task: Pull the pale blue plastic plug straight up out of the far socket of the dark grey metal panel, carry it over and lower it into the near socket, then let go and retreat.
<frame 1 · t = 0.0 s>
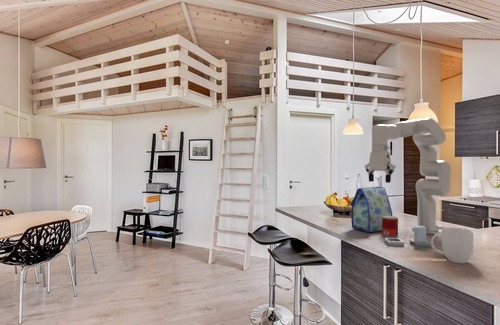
hand: (379, 182, 154), 31 cm above the countertop, tool pointing down, fingers open, 9 cm apart
lunch bag: (371, 229, 184), on the countertop
canned food: (389, 236, 167), on the countertop
plug: (420, 245, 146), point 1 cm above the countertop, touching panel
mug: (453, 260, 126), on the countertop
panel: (407, 246, 147), on the countertop
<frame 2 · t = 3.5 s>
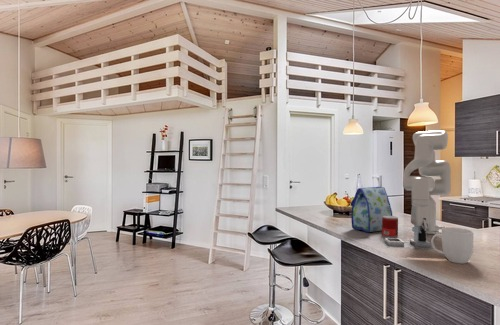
hand: (420, 239, 146), 4 cm above the countertop, tool pointing down, fingers closed on plug, 4 cm apart
plug: (420, 244, 146), point 1 cm above the countertop, touching gripper, panel
everything else where it was.
when the fingers open (4 cm above the countertop, at t = 8.1 s): plug stays where it is, resting on panel.
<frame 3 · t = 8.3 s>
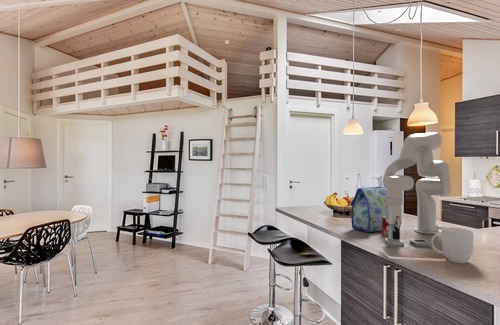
hand: (394, 237, 148), 4 cm above the countertop, tool pointing down, fingers open, 5 cm apart
plug: (394, 243, 148), point 1 cm above the countertop, touching panel
everything else where it was.
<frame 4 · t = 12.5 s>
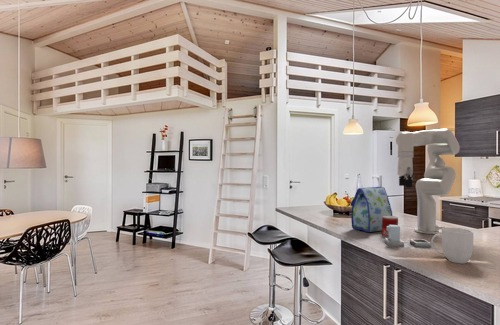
hand: (405, 186, 163), 28 cm above the countertop, tool pointing down, fingers open, 9 cm apart
nothing on the countertop moved.
at the end: plug 0.0 cm from the target spot on the panel, point 1.0 cm above the panel's base; plug tilted 0°; the gripper is holding nothing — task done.
